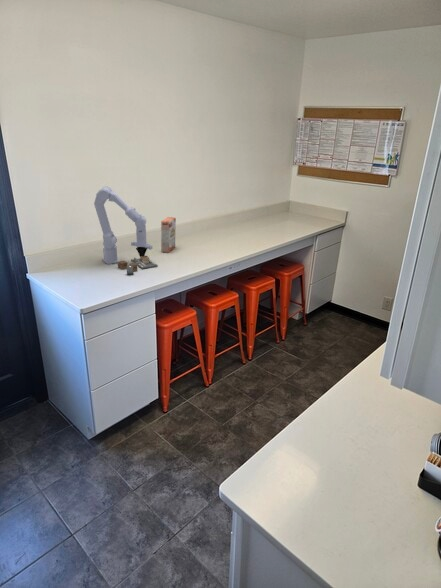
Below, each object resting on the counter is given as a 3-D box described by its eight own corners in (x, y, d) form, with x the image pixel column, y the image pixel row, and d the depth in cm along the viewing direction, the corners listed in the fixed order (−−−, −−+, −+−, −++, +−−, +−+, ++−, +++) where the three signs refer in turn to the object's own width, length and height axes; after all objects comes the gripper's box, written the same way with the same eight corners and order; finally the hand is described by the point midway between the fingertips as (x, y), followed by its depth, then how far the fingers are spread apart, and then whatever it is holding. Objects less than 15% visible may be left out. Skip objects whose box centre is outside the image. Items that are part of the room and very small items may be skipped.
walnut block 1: (118, 268, 234) (117, 261, 232) (124, 266, 236) (123, 260, 235) (121, 270, 231) (121, 263, 230) (127, 268, 234) (127, 262, 232)
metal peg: (126, 273, 226) (125, 265, 224) (132, 272, 228) (131, 264, 226) (128, 275, 223) (127, 267, 221) (134, 274, 225) (134, 266, 223)
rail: (131, 261, 245) (131, 257, 244) (146, 258, 250) (146, 255, 249) (142, 269, 233) (142, 265, 232) (157, 266, 238) (157, 263, 237)
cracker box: (169, 253, 263) (169, 222, 254) (161, 252, 264) (160, 221, 255) (176, 247, 275) (176, 217, 267) (167, 246, 276) (167, 216, 268)
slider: (140, 261, 241) (140, 256, 240) (146, 261, 243) (146, 255, 242) (143, 263, 238) (142, 258, 237) (149, 262, 240) (149, 257, 239)
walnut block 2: (129, 269, 232) (129, 263, 231) (136, 269, 234) (136, 262, 232) (130, 271, 229) (130, 265, 227) (137, 271, 230) (137, 264, 229)
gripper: (127, 236, 237) (128, 258, 243) (147, 240, 232) (147, 262, 237) (134, 233, 243) (135, 255, 249) (154, 237, 237) (154, 259, 243)
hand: (142, 258), depth 243 cm, fingers closed
